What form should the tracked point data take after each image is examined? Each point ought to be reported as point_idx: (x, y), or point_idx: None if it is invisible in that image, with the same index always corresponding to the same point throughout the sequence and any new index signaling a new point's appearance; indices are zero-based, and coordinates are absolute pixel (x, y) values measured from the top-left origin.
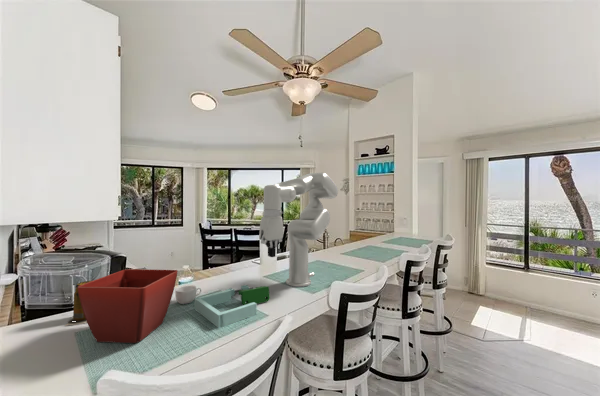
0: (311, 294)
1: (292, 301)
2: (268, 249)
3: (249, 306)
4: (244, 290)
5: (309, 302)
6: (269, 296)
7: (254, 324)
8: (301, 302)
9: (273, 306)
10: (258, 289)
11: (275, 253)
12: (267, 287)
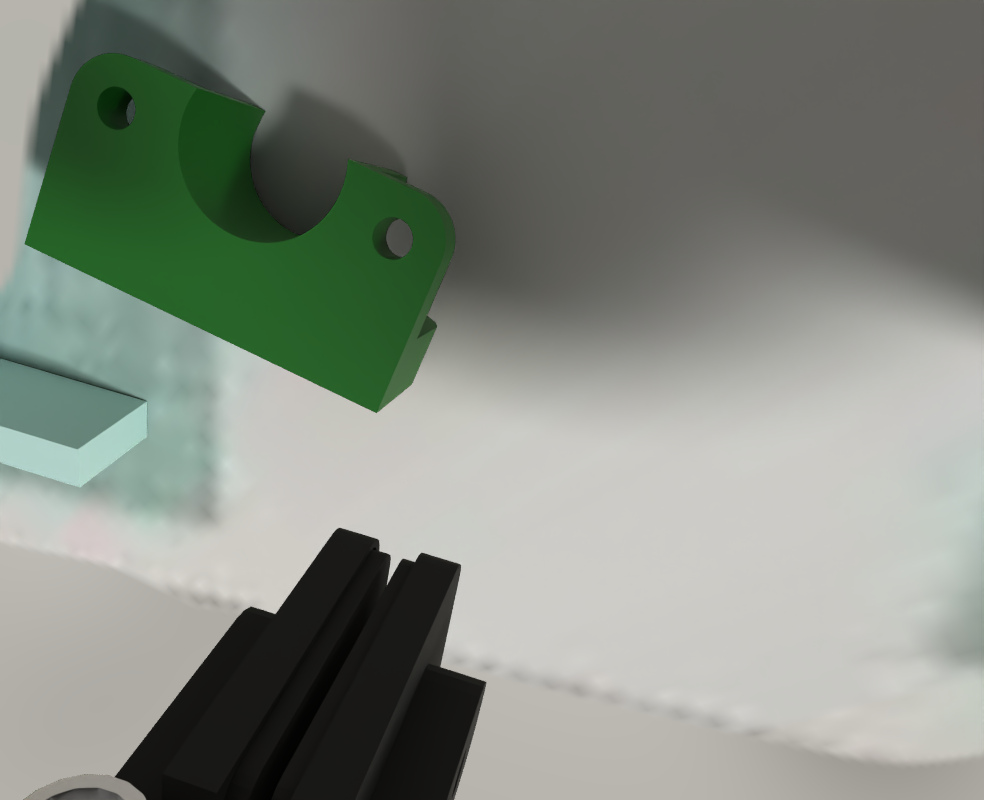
0: (900, 648)
1: (582, 558)
2: (144, 769)
3: (11, 461)
4: (101, 187)
5: (658, 698)
6: (407, 385)
7: (54, 516)
8: (613, 638)
9: (364, 464)
10: (236, 341)
11: (460, 776)
12: (360, 401)
